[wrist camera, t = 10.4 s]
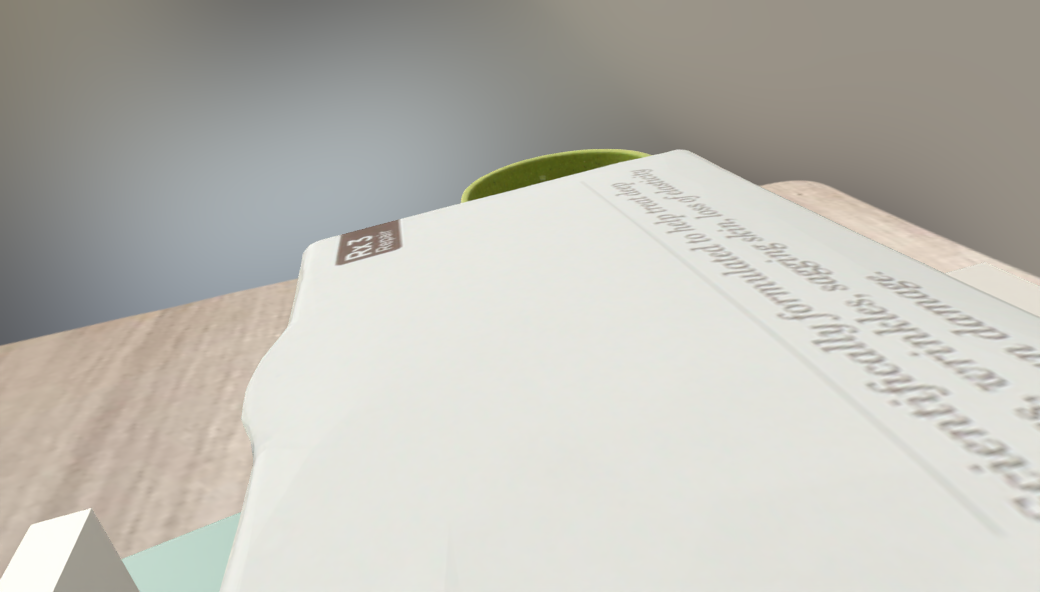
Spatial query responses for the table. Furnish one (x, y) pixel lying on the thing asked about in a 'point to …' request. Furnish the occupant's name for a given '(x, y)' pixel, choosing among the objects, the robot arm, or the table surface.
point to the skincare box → (639, 404)
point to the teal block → (186, 560)
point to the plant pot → (545, 170)
